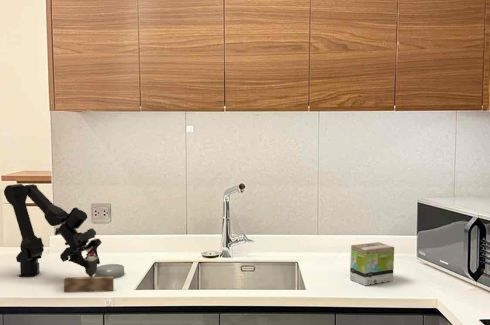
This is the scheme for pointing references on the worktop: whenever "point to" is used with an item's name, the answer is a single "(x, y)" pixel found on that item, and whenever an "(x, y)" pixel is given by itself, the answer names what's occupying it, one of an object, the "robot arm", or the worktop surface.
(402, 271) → the worktop surface
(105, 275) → the slate plinth
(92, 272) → the sundae
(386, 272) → the tea box
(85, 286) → the brown wooden plank
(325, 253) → the worktop surface
